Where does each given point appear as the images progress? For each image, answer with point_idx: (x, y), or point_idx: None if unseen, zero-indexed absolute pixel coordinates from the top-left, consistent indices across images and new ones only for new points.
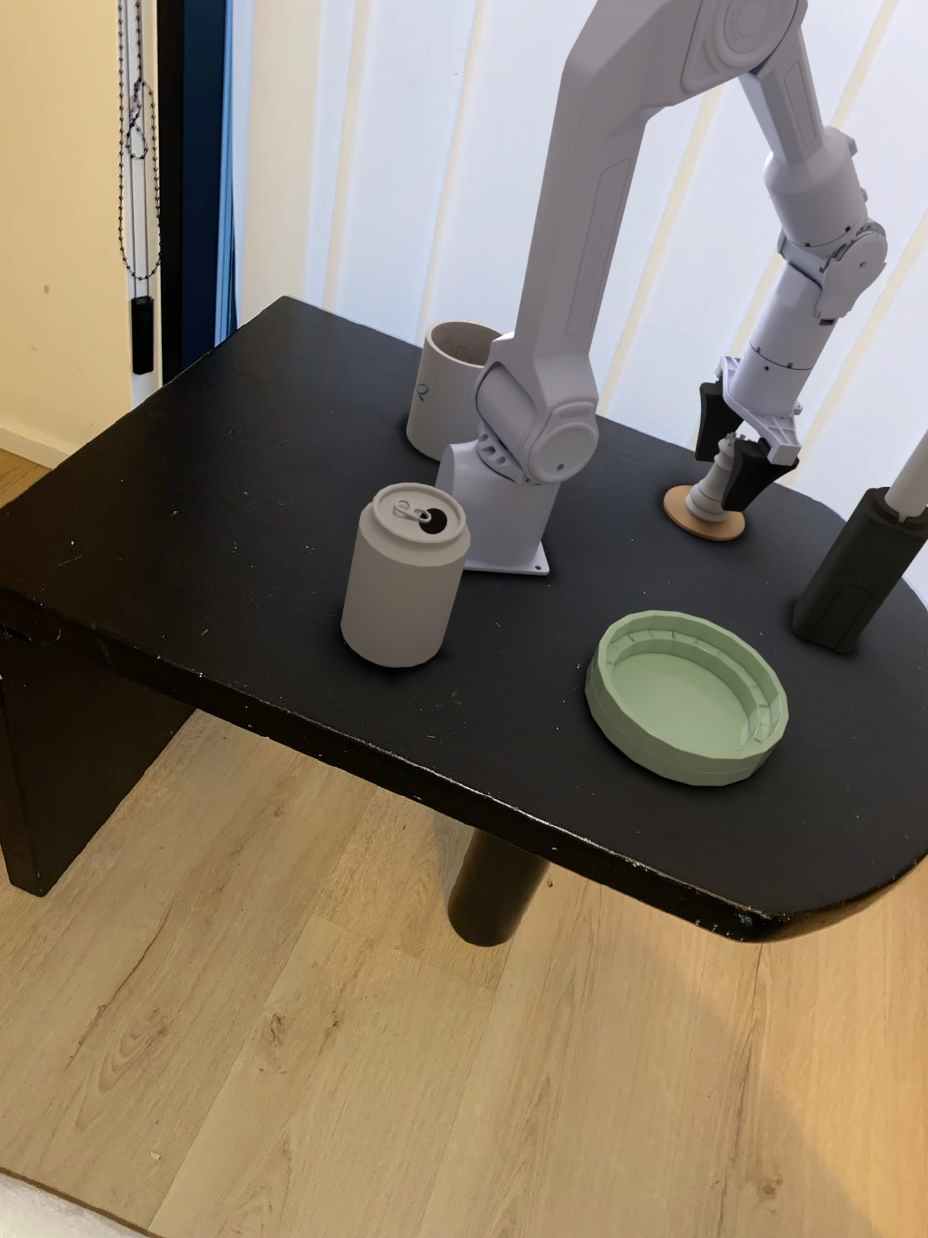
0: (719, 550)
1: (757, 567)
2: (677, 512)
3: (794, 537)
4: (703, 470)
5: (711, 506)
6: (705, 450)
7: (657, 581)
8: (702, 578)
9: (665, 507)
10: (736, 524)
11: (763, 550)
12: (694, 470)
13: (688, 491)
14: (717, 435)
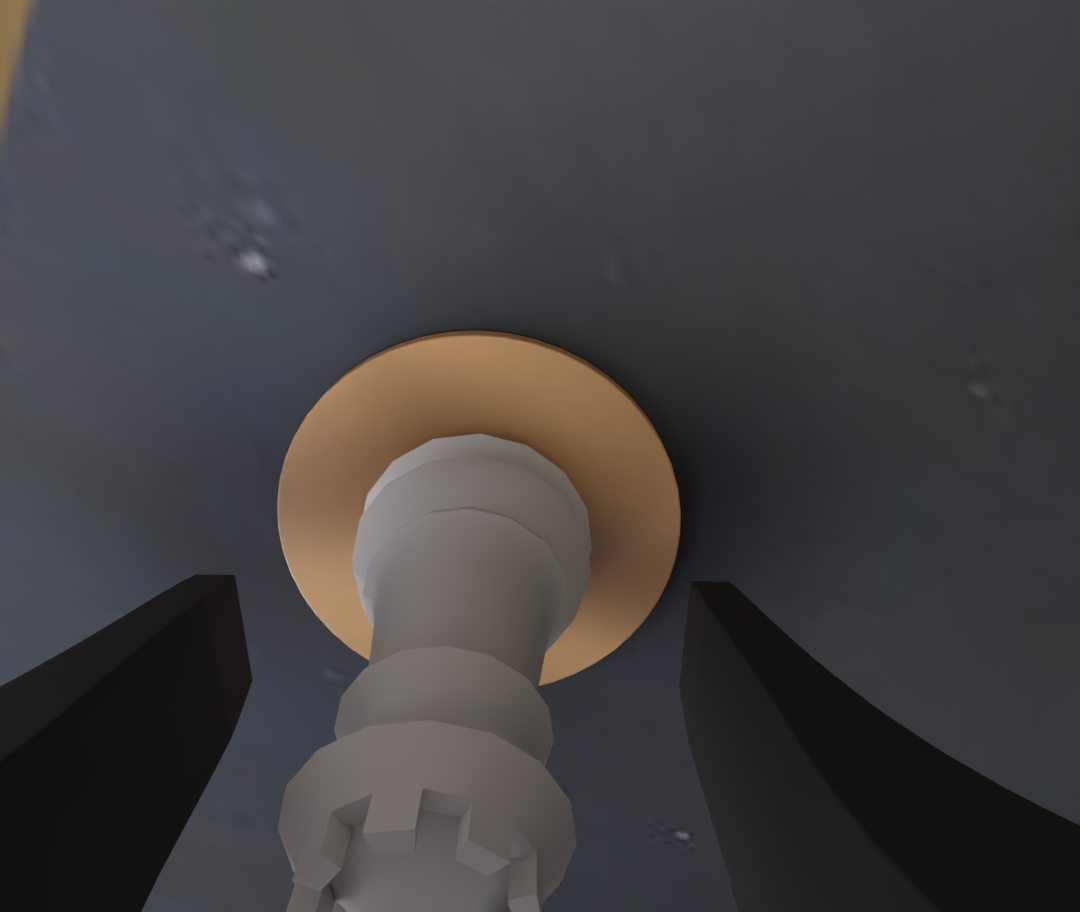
0: (741, 535)
1: (868, 392)
2: None
3: (622, 23)
4: (80, 392)
5: (572, 619)
6: (218, 711)
7: None
8: (910, 663)
9: None
10: (571, 405)
11: (743, 302)
12: (102, 444)
13: (336, 563)
14: (140, 766)
